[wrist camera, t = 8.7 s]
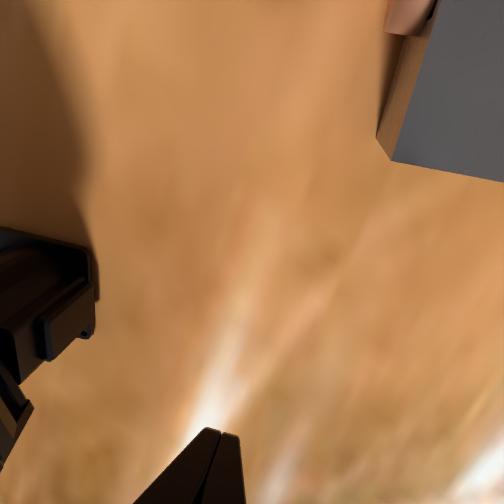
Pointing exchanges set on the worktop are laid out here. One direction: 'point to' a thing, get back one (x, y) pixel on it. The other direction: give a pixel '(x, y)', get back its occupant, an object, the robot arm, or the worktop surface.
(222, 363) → the worktop surface
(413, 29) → the pin
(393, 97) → the block
